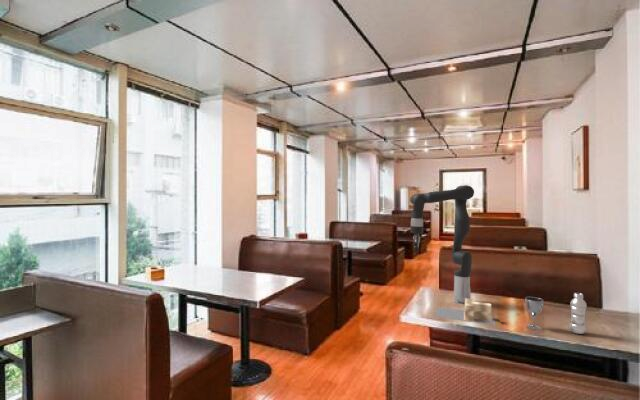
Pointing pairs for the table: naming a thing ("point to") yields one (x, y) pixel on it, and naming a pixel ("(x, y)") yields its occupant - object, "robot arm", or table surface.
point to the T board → (460, 316)
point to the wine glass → (534, 309)
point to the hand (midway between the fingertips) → (416, 252)
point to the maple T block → (477, 310)
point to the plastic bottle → (578, 314)
